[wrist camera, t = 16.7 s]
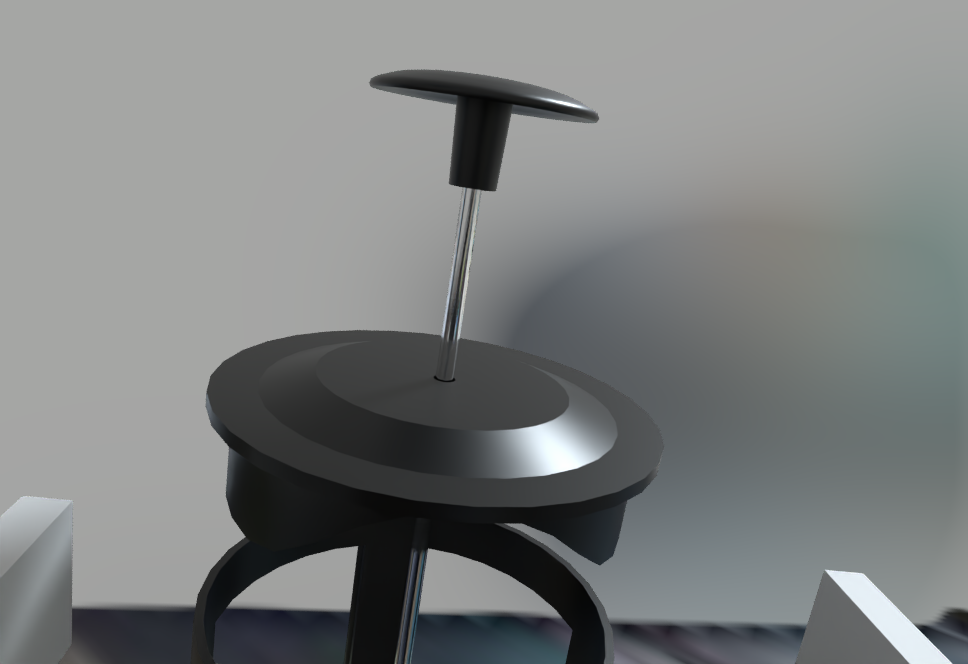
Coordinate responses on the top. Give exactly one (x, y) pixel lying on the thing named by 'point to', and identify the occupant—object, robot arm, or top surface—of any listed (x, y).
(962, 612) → the top surface
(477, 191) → the french press
